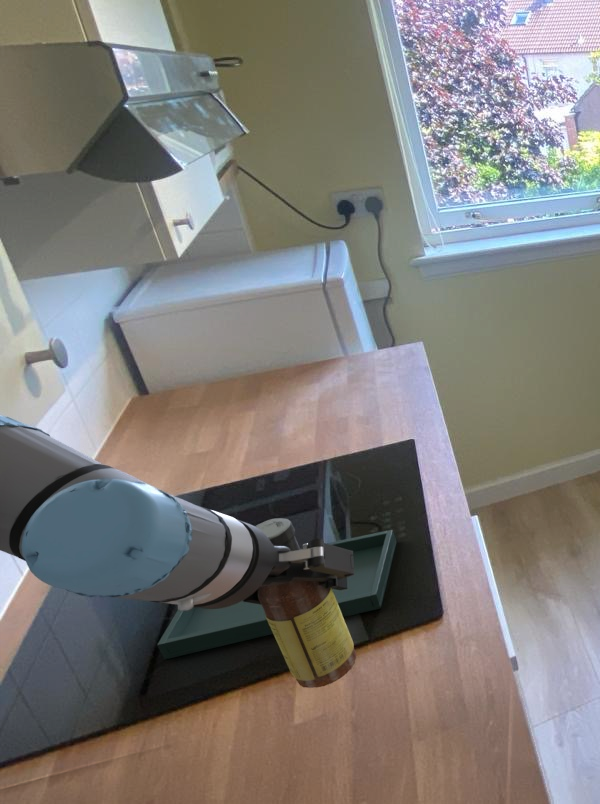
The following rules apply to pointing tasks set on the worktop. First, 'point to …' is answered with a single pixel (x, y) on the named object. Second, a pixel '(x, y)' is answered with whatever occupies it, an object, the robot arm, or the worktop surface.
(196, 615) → the tray
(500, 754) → the worktop surface
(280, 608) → the sauce bottle
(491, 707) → the worktop surface
